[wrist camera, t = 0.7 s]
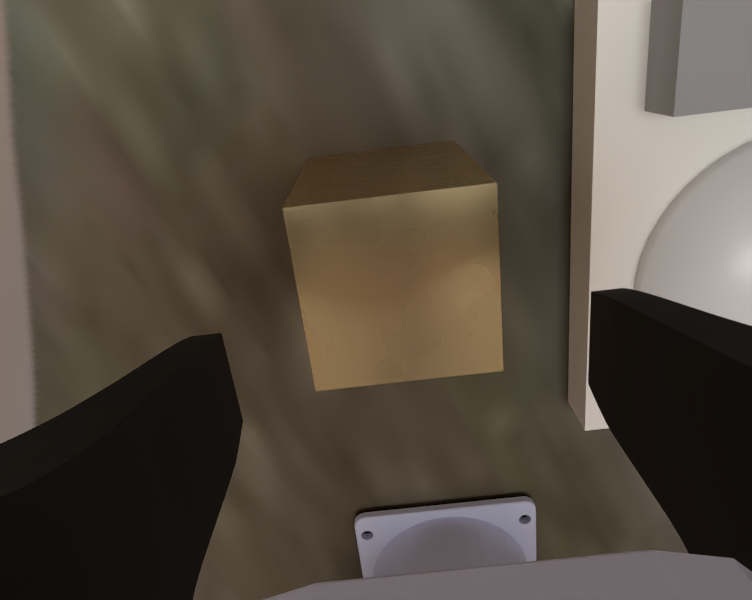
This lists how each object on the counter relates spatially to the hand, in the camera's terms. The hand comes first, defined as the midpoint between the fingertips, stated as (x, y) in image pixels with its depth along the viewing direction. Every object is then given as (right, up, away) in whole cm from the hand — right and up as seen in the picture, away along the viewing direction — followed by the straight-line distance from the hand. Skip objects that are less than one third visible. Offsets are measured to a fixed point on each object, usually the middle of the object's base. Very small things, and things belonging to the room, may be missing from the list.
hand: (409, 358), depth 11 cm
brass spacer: (0, +4, +10) cm, 10 cm away
